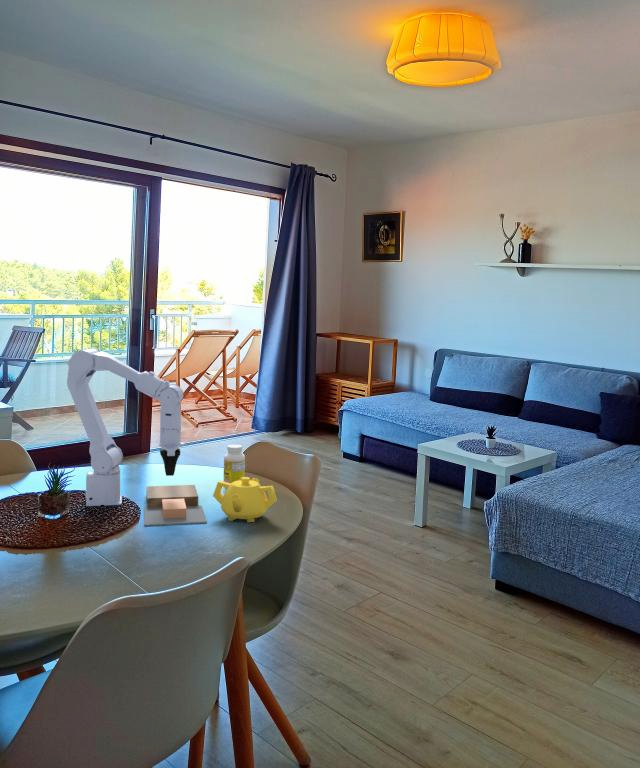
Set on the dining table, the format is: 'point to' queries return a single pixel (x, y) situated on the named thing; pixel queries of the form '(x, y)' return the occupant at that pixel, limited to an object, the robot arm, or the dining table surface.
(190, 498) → the stand
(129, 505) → the dining table surface
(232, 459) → the supplement bottle
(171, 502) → the orange flat block
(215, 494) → the teapot
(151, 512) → the mat
